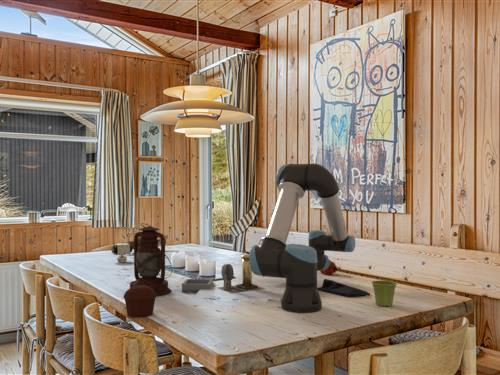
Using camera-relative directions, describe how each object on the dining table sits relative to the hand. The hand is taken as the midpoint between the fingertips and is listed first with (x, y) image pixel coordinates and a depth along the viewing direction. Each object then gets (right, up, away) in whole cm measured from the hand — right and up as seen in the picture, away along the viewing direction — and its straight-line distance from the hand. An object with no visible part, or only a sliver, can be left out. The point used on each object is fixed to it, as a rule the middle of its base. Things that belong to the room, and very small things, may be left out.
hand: (262, 268), depth 218 cm
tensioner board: (-10, -9, -6) cm, 14 cm away
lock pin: (-7, -7, -5) cm, 11 cm away
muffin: (-45, -9, -44) cm, 63 cm away
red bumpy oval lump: (+35, -9, +36) cm, 51 cm away
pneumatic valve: (-83, -9, +78) cm, 114 cm away
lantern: (-49, -9, -8) cm, 51 cm away
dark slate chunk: (+35, -10, -7) cm, 37 cm away
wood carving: (-78, -9, +123) cm, 146 cm away
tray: (-29, -9, -2) cm, 30 cm away
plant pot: (+46, -9, -30) cm, 56 cm away
